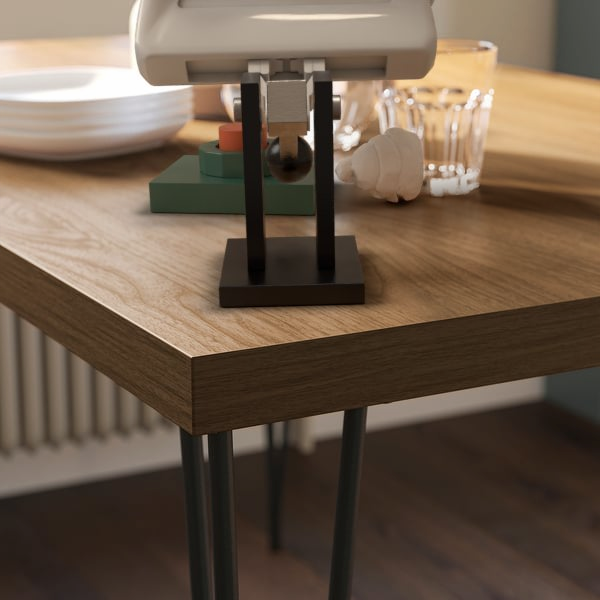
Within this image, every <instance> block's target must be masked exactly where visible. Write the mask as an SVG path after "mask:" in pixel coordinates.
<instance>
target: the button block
mask: <svg viewBox="0 0 600 600" xmlns="http://www.w3.org/2000/svg"><path fill="white" fill-rule="evenodd" d="M274 139H275V138H270V137H267V146H268V145H269V144H270V142H271V141H272V140H274ZM266 149H267V148H264V149H263V166H264V196H265V215H285V216H287V215H291V216H293V215H294V216H297V215H298V216H315V172H314V159H313V165H312V168H311V170H310V172H309V173H308V174H307V176H306V177H304V178H303V179H302V180H300V181H297V182H294V183H285V182H281V181H278V180H277V179H275V178H274V177H273V176H272V175H271V174H270V173H269V172H268V170H267V167H266V164H265V152H266ZM313 157H314V155H313ZM148 193H149V194H148V195H149V208H150V210H149V211H150V213H178V214H179V213H180V214H230V215H231V214H232V215H233V214H235V215H236V214H237V215H240V214H241V215H245V193H244V168H243V151H227V150H221V149H219V139H215V140H210V141H206V142H203V143H202V144H201V145H199V146H198V155H197V154H183V155H182V156H181V157H179V158H178V159H176V160H175V161H174V162H173V163H172V164H171V165H169V166H168V167H166V168H165V170H163V171H162V172H161V173H159V174H158V175H157V176H155V177H154V178H153V179H152V180H150V181H149V182H148Z"/></svg>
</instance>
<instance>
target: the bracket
mask: <svg viewBox="0 0 600 600" xmlns="http://www.w3.org/2000/svg"><path fill="white" fill-rule="evenodd" d="M239 89H240V90H239V91H240V97H238V96H237V97H233V100H232V107H233V109H232V111H233V123H242V142H243V168H244V193H245V214H244V216H245V217H244V218H245V237H233V238H232V237H231V238H230V237H229V238H227V239H226V244H225V249H224V255H223V261H222V266H221V272H220V276H219V277H220V278H219V284H218V303H219V304H218V305H219V308H233V307H234V308H235V307H237V308H238V307H273V306H274V307H275V306H311V305H312V306H313V305H349V304H351V305H353V304H354V305H356V304H365V303H366V283H365V278H364V273H363V268H362V263H361V259H360V254H359V250H358V249H359V248H358V244H357V240H356V235H354V234H349V235H347V234H345V235H336V220H335V219H336V218H335V217H336V216H335V215H336V213H335V211H336V210H335V151H334V149H335V148H334V147H335V145H334V143H335V140H334V139H335V138H334V121H341V119H342V98H341V94H334V82H333V81H332V78H331V74H330V71H313V110H312V113H313V156H314V172H315V213H314V217H315V219H314V220H315V235H310V236H309V235H308V236H306V235H304V236H272V237H271V236H270V237H269V236H268V237H267V228H266V214H265V196H264V166H263V137H262V124H263V113H262V112H263V110H262V107H261V78H260V72H249V73H243V75H242V79H241V83H240V84H239Z"/></svg>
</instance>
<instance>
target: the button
mask: <svg viewBox="0 0 600 600" xmlns="http://www.w3.org/2000/svg"><path fill="white" fill-rule="evenodd" d="M262 137H263V149H264V148H267V147H268V146H267V138H268V132H266V123H262ZM218 140H219V149H221V150H227V151H243V142H242V123H235V122H230V123H226V124H222V125H219V126H218Z"/></svg>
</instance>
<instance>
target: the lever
mask: <svg viewBox="0 0 600 600" xmlns="http://www.w3.org/2000/svg"><path fill="white" fill-rule="evenodd" d="M267 121H268V132H267V133H268V137H269V138H270V137H274V138H273V139H274V140H272V141H271V142H270V144H269V145H268V147H267V149H266V152H265V164H266V167H267V170H268V172H269V173H270V174H271V175H272V176H273V177H274V178H275V179H277V180H278V181H281V182H285V183H294V182H297V181H300V180H302V179H303V178H304V177H306V176H307V174H308V173H309V172H310V170H311V168H312V165H313V159H314V157H313V156H314V150H313V148H312V147H311V145H310V143H309V142H308V141H307V140H306V139H305V138H303V137H305V136H308V131H307V123H308V120H307V84H306V80H291V81H267Z"/></svg>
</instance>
